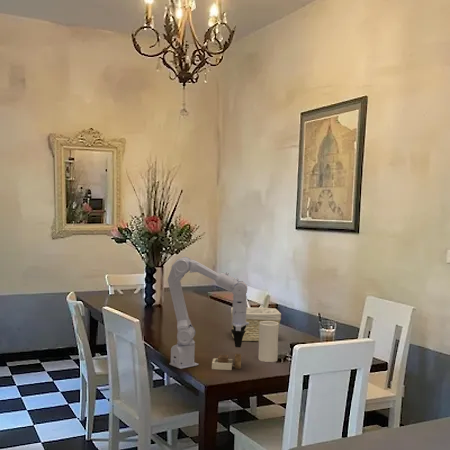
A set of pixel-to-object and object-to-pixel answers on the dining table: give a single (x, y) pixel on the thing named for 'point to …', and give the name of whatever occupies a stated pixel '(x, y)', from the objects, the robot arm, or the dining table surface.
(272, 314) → the storage basket
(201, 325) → the dining table surface
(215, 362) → the small tray
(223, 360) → the tan rounded-end part
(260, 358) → the cup
